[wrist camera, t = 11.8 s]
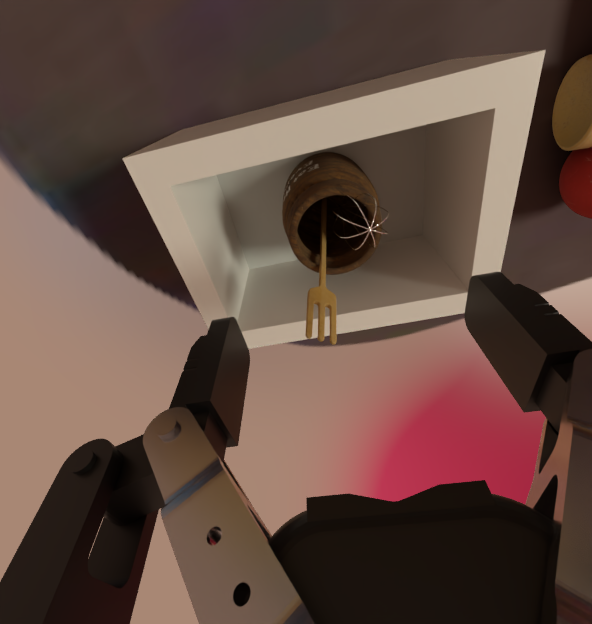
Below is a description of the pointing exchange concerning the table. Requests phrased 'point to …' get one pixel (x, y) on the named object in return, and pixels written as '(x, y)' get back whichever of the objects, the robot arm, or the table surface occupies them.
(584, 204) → the kendama
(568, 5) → the table surface
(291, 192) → the utensil holder
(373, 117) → the open rectangular box
